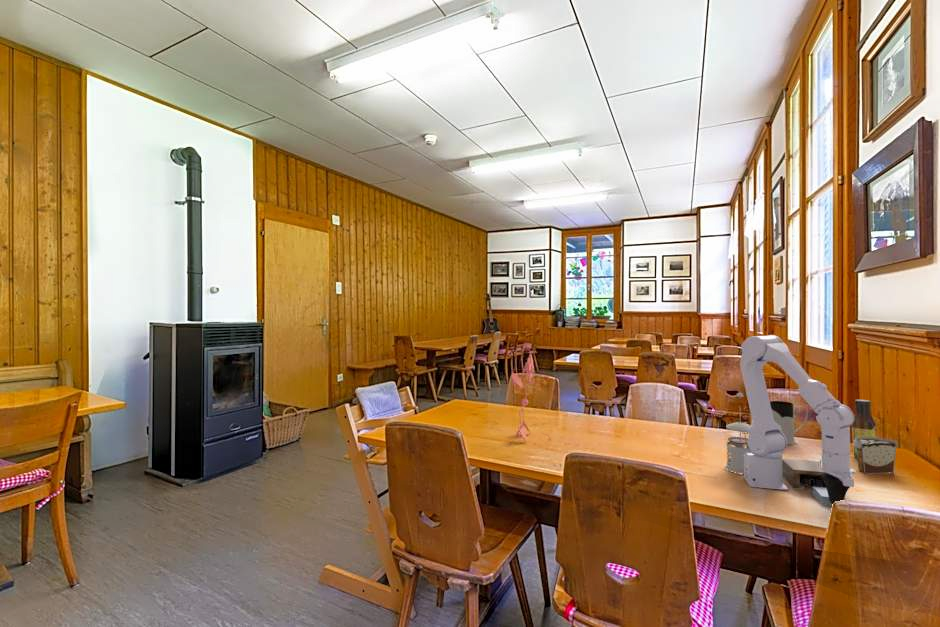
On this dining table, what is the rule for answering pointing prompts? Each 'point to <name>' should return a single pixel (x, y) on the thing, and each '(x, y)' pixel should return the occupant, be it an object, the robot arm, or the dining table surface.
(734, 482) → the dining table surface
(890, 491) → the dining table surface
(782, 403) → the glass holder
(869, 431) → the sauce bottle
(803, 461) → the overhang shelf
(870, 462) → the food container
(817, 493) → the grey rectangular block
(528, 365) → the figurine
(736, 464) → the french press
